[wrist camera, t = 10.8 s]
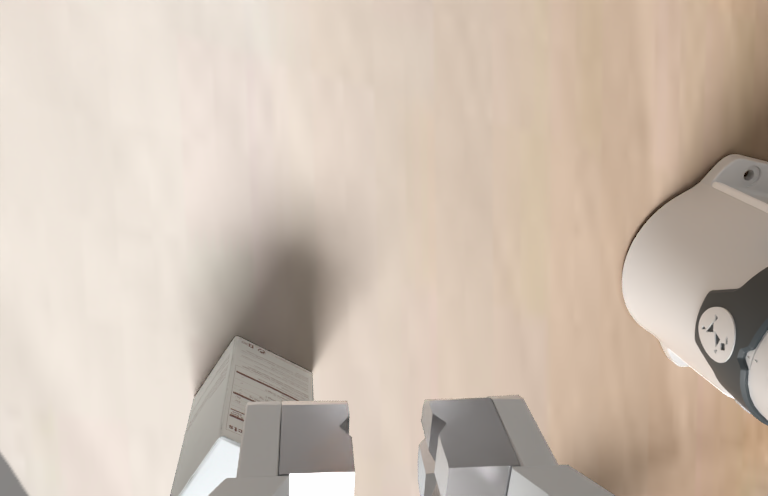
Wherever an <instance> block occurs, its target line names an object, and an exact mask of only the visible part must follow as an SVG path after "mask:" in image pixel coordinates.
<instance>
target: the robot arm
mask: <svg viewBox="0 0 768 496" xmlns="http://www.w3.org/2000/svg"><path fill="white" fill-rule="evenodd" d="M746 171H748V174H747V176H746V177H744V174H745V172H746ZM622 291H623V297H624V300H625V304H626V306H627V308H628V310H629V312H630V314H631V315H632V317H633V318H634V320H635V321H636V322H637V323H638V324H639V325H640V326H641V327H642V328H644V329H645V330H647V331H648V332H649V333H651V334H652V335H654V336H655V337H656V338H657V339H658V340H659V341H660V344H661V346H662V348H663V350H664V352H665V354H666V356H667V357H668V358H669V359H670V360H671V361H672V362H673V363H675V364H676V365H677V366H680V367H687V366H690V367H691V368H692V369H694V370H695V371H696V372H697V373H699V374H700V375H701V376H702V377H704V378H705V379H706V380H707V381H709V382H710V383H711V384H712V385H714V386H715V387H716V388H717V389H719V390H720V391H721V392H723V393H724V394H725V395H727V396H728V397H731V398H734V399H735V401H736V402H737V403H738V404H739V405H740V406H741V407H742V408H743V409H744V410H746V411H747V412H748V413H750V414H752V415H753V416H754V417H756V418H757V419H758V420H759V421H761V422H762V423H764V424H766V425H768V162H767V161H763V160H759V159H755V158H751V157H747V156H743V155H739V154H731V155H728V156H726V157H724V158H723V159H721V160H720V161H719V162H718V163H717V164H716V165H715V166H714V167H713V168H712V169H711V170H710V171H709V172H708V174H707V175H706V176H705V177H704V178H703V179H702V180H701V182H699V183H698V184H697V185H695V186H694V187H692V188H691V189H689V190H687V191H686V192H684V193H682V194H680V195H679V196H677V197H675V198H674V199H672V200H670V201H669V202H668V203H666V204H665V205H664V206H662V207H661V208H660V209H659V210H658V211H657V212H656V213H654V214H653V215H652V216H651V218H650V219H649V220H648V221H647V222H646V223H645V224H644V226H643V227H642V228H641V230H640V231H639V232H638V234H637V236H636V237H635V239H634V241H633V242H632V245H631V247H630V249H629V251H628V254H627V256H626V259H625V263H624V268H623V274H622ZM421 422H422V426H423V430H424V434H425V439H424V440H423V441H422V442H421V443H420V444H419V452H418V483H419V490H420V496H615V495H614V494H612V493H610V492H609V491H607V490H606V489H604V488H603V487H601V486H600V485H598V484H597V483H595V482H594V481H592V480H590V479H589V478H587V477H586V476H584V475H583V474H581V473H580V472H578V471H577V470H575V469H573V468H572V467H570V466H569V465H558V463H557V461H556V459H555V457H554V456H553V454H552V452H551V450H550V448H549V446H548V444H547V442H546V440H545V439H544V437H543V435H542V433H541V431H540V429H539V427H538V425H537V423H536V422H535V420H534V418H533V416H532V414H531V412H530V410H529V408H528V406H527V405H526V403H525V401H524V399H523V398H522V397H521V396H519V395H507V396H489V397H487V398H460V399H427V400H425V401H424V405H423V410H422V419H421ZM354 480H355V468H354V457H353V446H352V437H351V436H350V435H349V408H348V402H347V401H282V403H281V402H280V401H261V402H248V403H247V405H246V407H245V415H244V423H243V430H242V438H241V445H240V453H239V460H238V468H237V476H236V478H226V479H224V480H223V481H222V482H221V483H220V484H219V485H218V486H217V487H216V488H215V489H214V490H213V491H212V492H211V493H210V494H209V495H208V496H354Z"/></svg>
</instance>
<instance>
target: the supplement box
mask: <svg viewBox="0 0 768 496" xmlns="http://www.w3.org/2000/svg"><path fill="white" fill-rule="evenodd" d="M261 401H280V402H281V403H282V401H314V398H313V375H312V373H311V372H309V371H308V370H306V369H304V368H302V367H300V366H298V365H296V364H294V363H292V362H290V361H288V360H286V359H284V358H282V357H280V356H278V355H276V354H274V353H272V352H270V351H268V350H266V349H264V348H262V347H260V346H258V345H256V344H254V343H251V342H249V341H247V340H245V339H243V338H241V337H239V336H235V337H234V339H233V340H232V342H231V343H230V345H229V346H228V347H227V349H226V350H225V352H224V353H223V355H222V356H221V358H220V359H219V361H218V362H217V364H216V365H215V367H214V368H213V370H212V371H211V373H210V375H209V376H208V378H207V379H206V381H205V382H204V384H203V385H202V387H201V388H200V390H199V391H198V393H197V394H196V396H195V397H194V399H193V403H192V408H191V412H190V416H189V420H188V424H187V428H186V432H185V436H184V441H183V445H182V449H181V453H180V457H179V461H178V465H177V469H176V473H175V478H174V482H173V486H172V490H171V494H170V496H208V495H209V494H210V493H211V492H212V491H213V490H214V489H215V488H216V487H217V486H218V485H219V484H220V483H221V482H222V481H223V480H224V479H226V478H236V476H237V468H238V460H239V453H240V445H241V438H242V430H243V423H244V415H245V407H246V405H247V403H248V402H261Z"/></svg>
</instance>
